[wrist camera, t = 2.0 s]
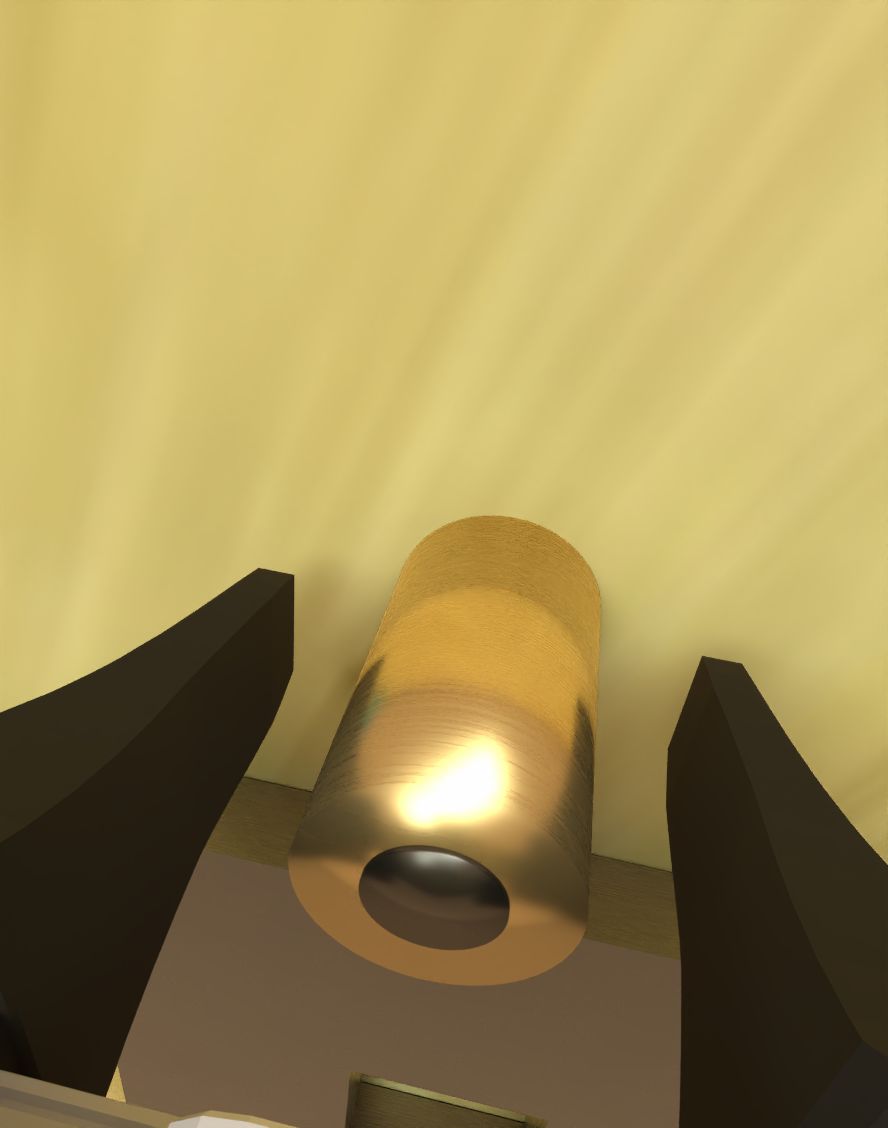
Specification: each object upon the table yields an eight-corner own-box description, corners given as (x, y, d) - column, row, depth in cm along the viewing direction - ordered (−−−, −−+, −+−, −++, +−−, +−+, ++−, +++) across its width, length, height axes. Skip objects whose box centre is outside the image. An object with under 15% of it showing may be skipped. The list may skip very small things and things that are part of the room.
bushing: (622, 537, 14) (619, 838, 9) (578, 699, 16) (556, 1019, 11) (407, 498, 14) (286, 766, 9) (392, 661, 16) (285, 954, 11)
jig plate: (931, 930, 17) (964, 1026, 16) (710, 1225, 26) (715, 1305, 25) (111, 747, 19) (61, 817, 17) (166, 1084, 28) (137, 1151, 26)
